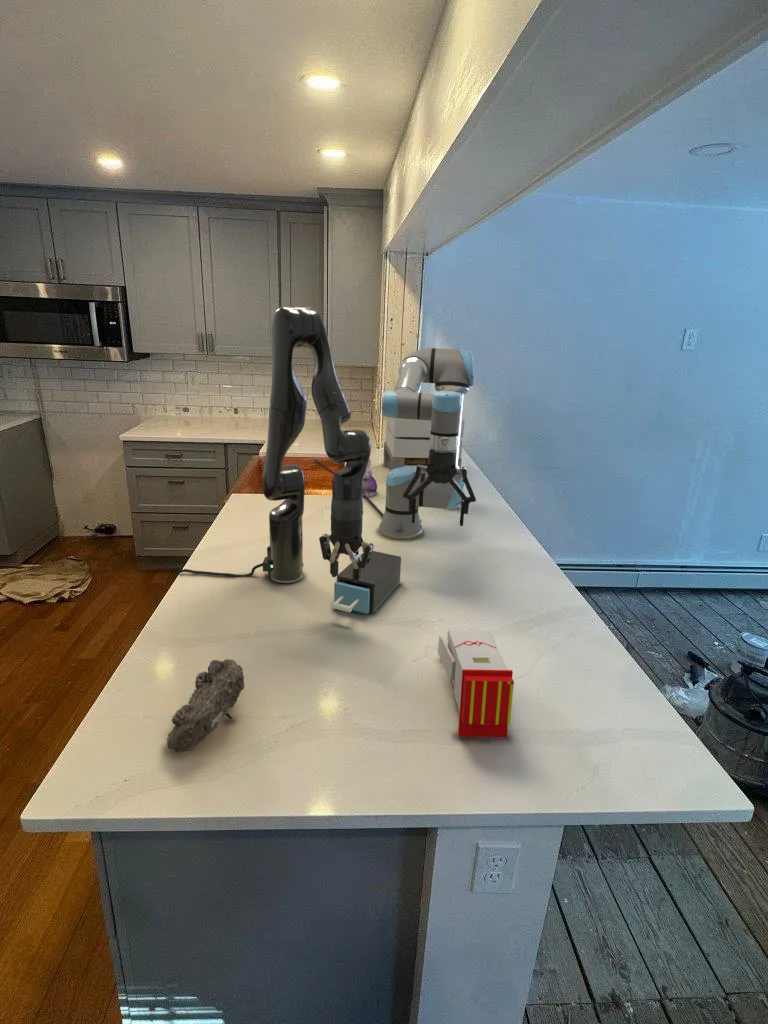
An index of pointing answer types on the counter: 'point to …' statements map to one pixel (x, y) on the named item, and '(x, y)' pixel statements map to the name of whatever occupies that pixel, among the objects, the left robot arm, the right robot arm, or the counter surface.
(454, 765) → the counter surface
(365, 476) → the figurine
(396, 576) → the cabinet
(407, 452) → the light grey slatted crate
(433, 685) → the counter surface
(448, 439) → the right robot arm
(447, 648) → the toy
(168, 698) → the counter surface
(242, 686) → the fossil
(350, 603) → the drawer
